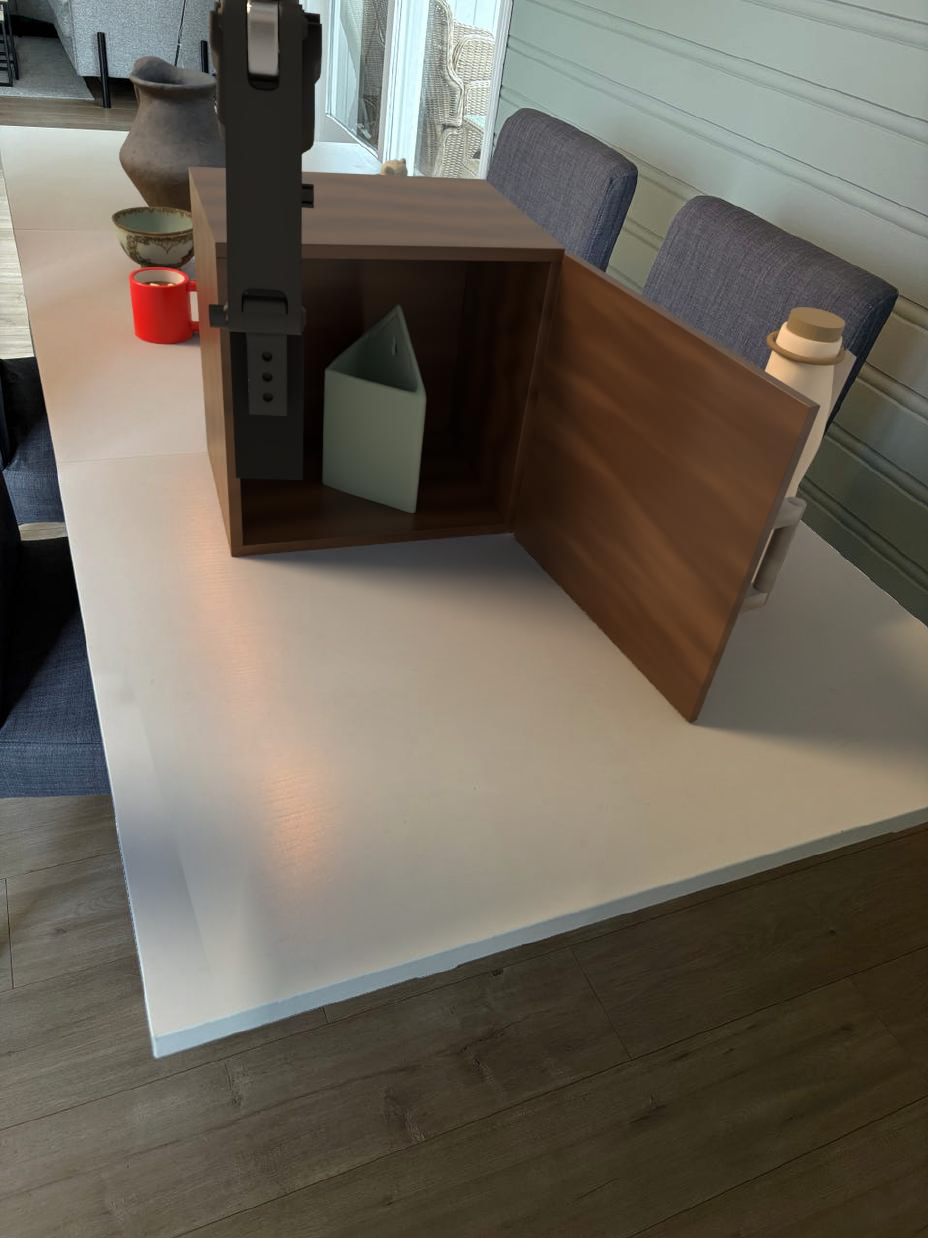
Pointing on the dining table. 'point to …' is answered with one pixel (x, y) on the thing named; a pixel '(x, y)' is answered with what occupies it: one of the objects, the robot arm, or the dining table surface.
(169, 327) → the mug
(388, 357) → the planter
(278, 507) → the cupboard
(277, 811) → the dining table surface
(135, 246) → the bowl
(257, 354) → the robot arm
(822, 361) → the water bottle
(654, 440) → the cupboard door
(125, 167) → the pitcher
